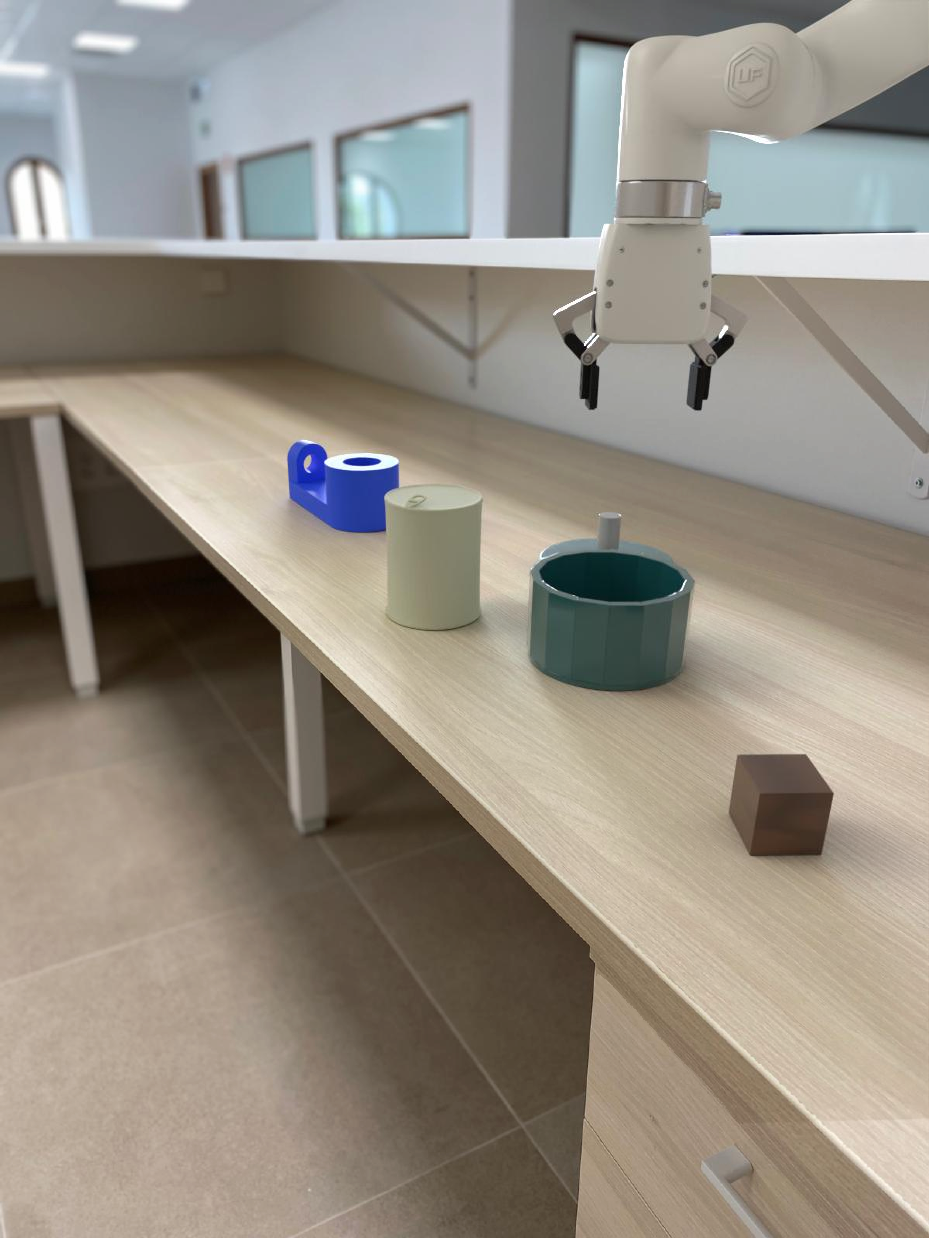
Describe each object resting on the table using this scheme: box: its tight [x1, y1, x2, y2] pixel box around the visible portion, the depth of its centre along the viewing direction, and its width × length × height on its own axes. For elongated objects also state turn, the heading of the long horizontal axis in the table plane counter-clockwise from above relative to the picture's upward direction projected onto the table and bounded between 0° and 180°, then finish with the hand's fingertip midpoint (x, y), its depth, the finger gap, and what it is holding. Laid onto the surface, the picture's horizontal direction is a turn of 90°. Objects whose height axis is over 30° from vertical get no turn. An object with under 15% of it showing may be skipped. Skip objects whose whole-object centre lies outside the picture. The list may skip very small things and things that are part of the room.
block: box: [728, 753, 835, 856], centre depth 57 cm, size 4×4×4 cm
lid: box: [539, 511, 675, 564], centre depth 101 cm, size 15×15×6 cm
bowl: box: [526, 550, 696, 692], centre depth 80 cm, size 14×14×8 cm
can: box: [384, 483, 484, 631], centre depth 88 cm, size 9×9×12 cm
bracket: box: [286, 439, 400, 533], centre depth 119 cm, size 20×9×8 cm, turn 38°
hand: (642, 407), depth 86 cm, fingers open, 9 cm apart
